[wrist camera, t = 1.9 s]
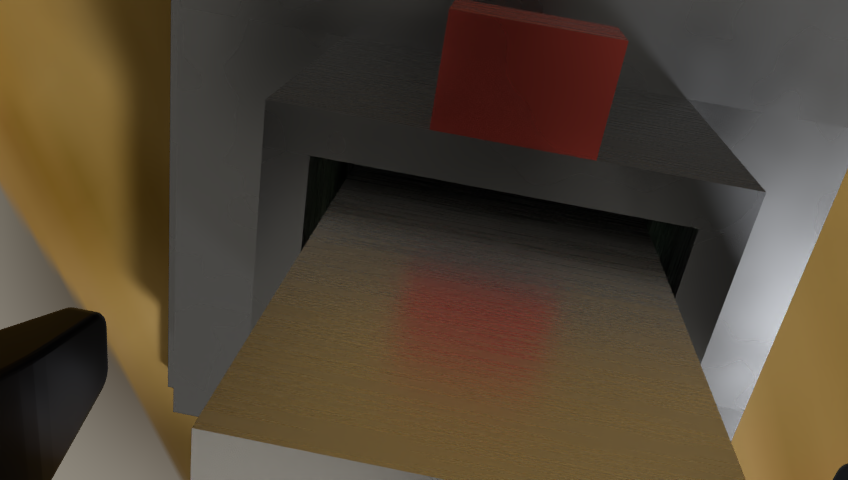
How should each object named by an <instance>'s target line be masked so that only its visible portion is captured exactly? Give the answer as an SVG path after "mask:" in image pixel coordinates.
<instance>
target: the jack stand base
mask: <svg viewBox="0 0 848 480" xmlns="http://www.w3.org/2000/svg"><path fill="white" fill-rule="evenodd" d="M355 164H357V165H363V166H368V167H373V168H379V169H384V170H389V171H394V172H400V173H405V174H410V175H416V176H421V177H426V178H432V179H437V180H442V181H448V182H453V183H458V184H464V185H469V186H474V187H479V188H485V189H490V190H495V191H501V192H506V193H511V194H517V195H522V196H527V197H533V198H538V199H543V200H549V201H554V202H559V203H564V204H570V205H575V206H580V207H586V208H591V209H596V210H602V211H607V212H612V213H618V214H623V215H628V216H634V217H639V218H643V219H644V221H645V224H646V227H647V229H648V232H649V234H650V237H651V239H652V242H653V244H654V247H655V250H656V252H657V255H658V257H659V260H660V262H661V265H662V267H663V270H664V273H665V275H666V278H667V280H668V283H669V285H670V288H671V290H672V293H673V295H674V298H675V301H676V303H677V306H678V308H679V311H680V313H681V316H682V318H683V321H684V324H685V326H686V329H687V331H688V334H689V336H690V339H691V341H692V344H693V347H694V349H695V352H696V354H697V357H698V359H699V362H700V364H701V367H702V369H703V372H704V375H705V377H706V380H707V382H708V385H709V387H710V390H711V392H712V395H713V398H714V400H715V403H716V405H717V408H718V410H719V413H720V415H721V418H722V421H723V423H724V426H725V428H726V431H727V433H728V436H729V438H730V441H731V440H732V438H733V436H734V433H735V431H736V429H737V426H738V424H739V422H740V419H741V417H742V415H743V412H744V410H745V408H746V405H747V403H748V401H749V398H750V396H751V394H752V391H753V389H754V386H755V384H756V382H757V379H758V377H759V375H760V372H761V370H762V368H763V365H764V363H765V361H766V358H767V356H768V354H769V351H770V349H771V347H772V344H773V342H774V340H775V337H776V335H777V333H778V330H779V328H780V325H781V323H782V321H783V318H784V316H785V314H786V311H787V309H788V307H789V304H790V302H791V300H792V297H793V295H794V293H795V290H796V288H797V286H798V283H799V281H800V279H801V276H802V274H803V272H804V269H805V267H806V264H807V262H808V260H809V257H810V255H811V253H812V250H813V248H814V246H815V243H816V241H817V239H818V236H819V234H820V232H821V229H822V227H823V225H824V222H825V220H826V218H827V215H828V213H829V210H830V208H831V206H832V203H833V201H834V199H835V196H836V194H837V192H838V189H839V187H840V185H841V182H842V180H843V178H844V175H845V173H846V171H847V168H848V0H171V82H170V206H169V330H168V387H172V388H174V402H173V412H177V413H182V414H187V415H192V416H197V417H199V415H200V414H201V412H202V411H203V409H204V407H205V406H206V404H207V403H208V401H209V399H210V398H211V396H212V394H213V393H214V391H215V390H216V388H217V386H218V385H219V383H220V382H221V380H222V378H223V377H224V375H225V373H226V372H227V370H228V369H229V367H230V365H231V364H232V362H233V361H234V359H235V357H236V356H237V354H238V352H239V351H240V349H241V348H242V346H243V344H244V343H245V341H246V340H247V338H248V336H249V335H250V333H251V332H252V330H253V328H254V327H255V325H256V323H257V322H258V320H259V319H260V317H261V315H262V314H263V312H264V311H265V309H266V307H267V306H268V304H269V302H270V301H271V299H272V298H273V296H274V294H275V293H276V291H277V290H278V288H279V286H280V285H281V283H282V281H283V280H284V278H285V277H286V275H287V273H288V272H289V270H290V269H291V267H292V265H293V264H294V262H295V261H296V259H297V257H298V256H299V254H300V252H301V251H302V249H303V248H304V246H305V244H306V243H307V241H308V240H309V238H310V236H311V235H312V233H313V231H314V230H315V228H316V227H317V225H318V223H319V222H320V220H321V219H322V217H323V215H324V214H325V212H326V210H327V209H328V207H329V206H330V204H331V202H332V201H333V199H334V198H335V196H336V194H337V193H338V191H339V189H340V188H341V186H342V185H343V183H344V181H345V180H346V178H347V177H348V175H349V173H350V172H351V170H352V169H353V167H354V165H355Z"/></svg>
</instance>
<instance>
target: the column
mask: <svg viewBox="0 0 848 480" xmlns="http://www.w3.org/2000/svg"><path fill="white" fill-rule="evenodd" d="M190 480H746V479H745V477H744V474H743V472H742V469H741V466H740V464H739V461H738V459H737V456H736V454H735V451H734V449H733V446H732V444H731V441H730V438H729V436H728V433H727V431H726V428H725V426H724V423H723V421H722V418H721V415H720V413H719V410H718V408H717V405H716V403H715V400H714V398H713V395H712V392H711V390H710V387H709V385H708V382H707V380H706V377H705V375H704V372H703V369H702V367H701V364H700V362H699V359H698V357H697V354H696V352H695V349H694V347H693V344H692V341H691V339H690V336H689V334H688V331H687V329H686V326H685V324H684V321H683V318H682V316H681V313H680V311H679V308H678V306H677V303H676V301H675V298H674V295H673V293H672V290H671V288H670V285H669V283H668V280H667V278H666V275H665V273H664V270H663V267H662V265H661V262H660V260H659V257H658V255H657V252H656V250H655V247H654V244H653V242H652V239H651V237H650V234H649V232H648V229H647V227H646V224H645V221H644V219H643V218H639V217H634V216H628V215H623V214H618V213H612V212H607V211H602V210H596V209H591V208H586V207H580V206H575V205H570V204H564V203H559V202H554V201H549V200H543V199H538V198H533V197H527V196H522V195H517V194H511V193H506V192H501V191H495V190H490V189H485V188H479V187H474V186H469V185H464V184H458V183H453V182H448V181H442V180H437V179H432V178H426V177H421V176H416V175H410V174H405V173H400V172H394V171H389V170H384V169H379V168H373V167H368V166H363V165H357V164H355V165H354V167H353V169H352V170H351V172H350V173H349V175H348V177H347V178H346V180H345V181H344V183H343V185H342V186H341V188H340V189H339V191H338V193H337V194H336V196H335V198H334V199H333V201H332V202H331V204H330V206H329V207H328V209H327V210H326V212H325V214H324V215H323V217H322V219H321V220H320V222H319V223H318V225H317V227H316V228H315V230H314V231H313V233H312V235H311V236H310V238H309V240H308V241H307V243H306V244H305V246H304V248H303V249H302V251H301V252H300V254H299V256H298V257H297V259H296V261H295V262H294V264H293V265H292V267H291V269H290V270H289V272H288V273H287V275H286V277H285V278H284V280H283V281H282V283H281V285H280V286H279V288H278V290H277V291H276V293H275V294H274V296H273V298H272V299H271V301H270V302H269V304H268V306H267V307H266V309H265V311H264V312H263V314H262V315H261V317H260V319H259V320H258V322H257V323H256V325H255V327H254V328H253V330H252V332H251V333H250V335H249V336H248V338H247V340H246V341H245V343H244V344H243V346H242V348H241V349H240V351H239V352H238V354H237V356H236V357H235V359H234V361H233V362H232V364H231V365H230V367H229V369H228V370H227V372H226V373H225V375H224V377H223V378H222V380H221V382H220V383H219V385H218V386H217V388H216V390H215V391H214V393H213V394H212V396H211V398H210V399H209V401H208V403H207V404H206V406H205V407H204V409H203V411H202V412H201V414H200V415H199V417H198V419H197V420H196V422H195V424H194V425H193V427H192V439H191V478H190Z"/></svg>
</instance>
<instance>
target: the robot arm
mask: <svg viewBox="0 0 848 480" xmlns="http://www.w3.org/2000/svg"><path fill="white" fill-rule="evenodd" d="M107 371H108V358H107V327H106V321H105V318H104V317H103V316H102V315H101V314H100V313H98V312H93V311H88V310H83V309H78V308H65V309H62V310H59V311H56V312H53V313H50V314H47V315H44V316H41V317H38V318H35V319H32V320H29V321H26V322H23V323H20V324H17V325H14V326H10V327H8V328H4V329H1V330H0V480H51V479H52V478H53V476H54V474H55V472H56V471H57V469H58V467H59V465H60V464H61V462H62V460H63V458H64V456H65V455H66V453H67V451H68V449H69V447H70V446H71V444H72V442H73V440H74V439H75V437H76V435H77V433H78V431H79V430H80V428H81V426H82V424H83V422H84V421H85V419H86V417H87V415H88V414H89V412H90V410H91V408H92V406H93V405H94V403H95V401H96V399H97V397H98V396H99V394H100V392H101V390H102V388H103V386H104V384H105V381H106V377H107ZM833 480H848V464H845V465H843V466H842V467H841V468H839V470H838V471H837V473H836V475H835V477H834V479H833Z"/></svg>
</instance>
